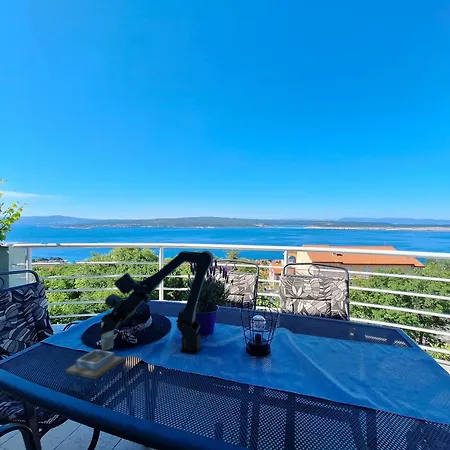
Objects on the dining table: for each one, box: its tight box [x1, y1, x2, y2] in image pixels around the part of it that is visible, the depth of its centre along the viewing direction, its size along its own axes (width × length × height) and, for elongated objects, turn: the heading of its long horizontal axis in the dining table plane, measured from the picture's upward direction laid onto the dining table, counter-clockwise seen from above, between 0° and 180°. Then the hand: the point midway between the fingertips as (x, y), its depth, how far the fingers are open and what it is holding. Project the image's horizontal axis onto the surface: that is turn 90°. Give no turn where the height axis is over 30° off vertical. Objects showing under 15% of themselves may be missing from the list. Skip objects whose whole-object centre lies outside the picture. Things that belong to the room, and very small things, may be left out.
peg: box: [100, 320, 115, 351], centre depth 110 cm, size 4×4×10 cm
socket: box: [65, 349, 125, 381], centre depth 95 cm, size 13×13×4 cm
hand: (105, 329), depth 110 cm, fingers open, 9 cm apart
